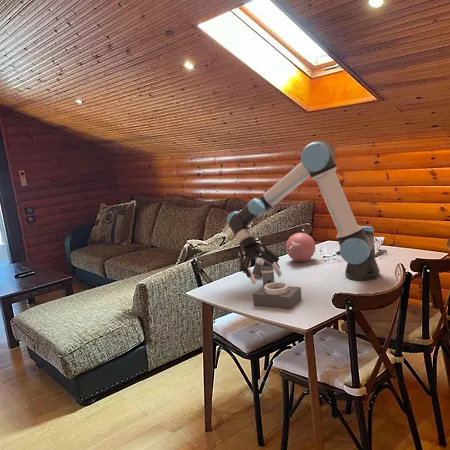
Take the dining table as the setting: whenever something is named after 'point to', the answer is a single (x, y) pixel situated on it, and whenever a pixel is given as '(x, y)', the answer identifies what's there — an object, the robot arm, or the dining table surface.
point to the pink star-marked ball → (300, 247)
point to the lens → (267, 274)
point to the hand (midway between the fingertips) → (267, 279)
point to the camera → (260, 266)
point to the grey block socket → (277, 295)
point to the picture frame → (375, 254)
